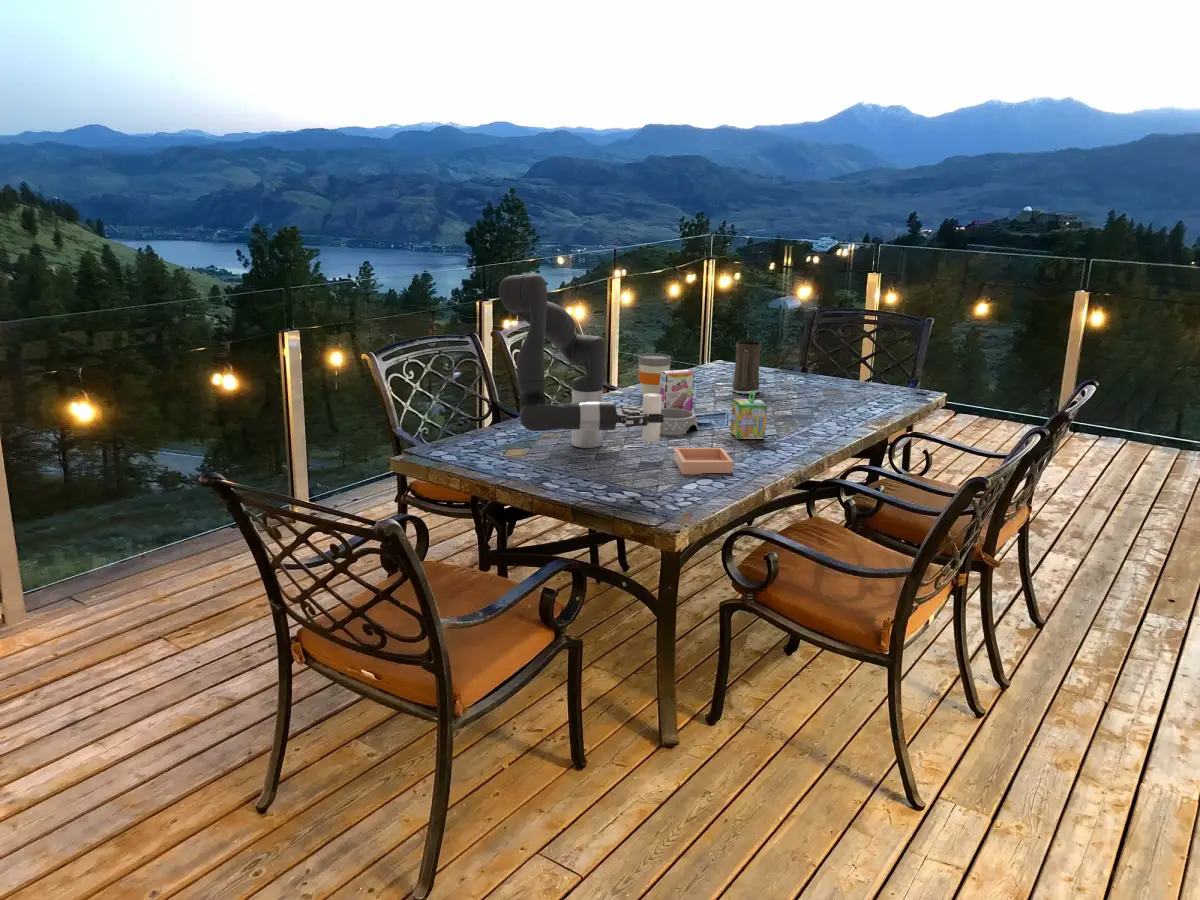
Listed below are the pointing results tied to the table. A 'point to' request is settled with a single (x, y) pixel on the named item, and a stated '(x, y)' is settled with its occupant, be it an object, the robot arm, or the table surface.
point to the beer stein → (747, 366)
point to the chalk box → (748, 417)
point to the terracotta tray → (702, 460)
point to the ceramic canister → (651, 407)
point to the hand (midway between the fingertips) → (661, 415)
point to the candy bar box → (676, 389)
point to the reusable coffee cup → (652, 371)
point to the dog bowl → (677, 421)
